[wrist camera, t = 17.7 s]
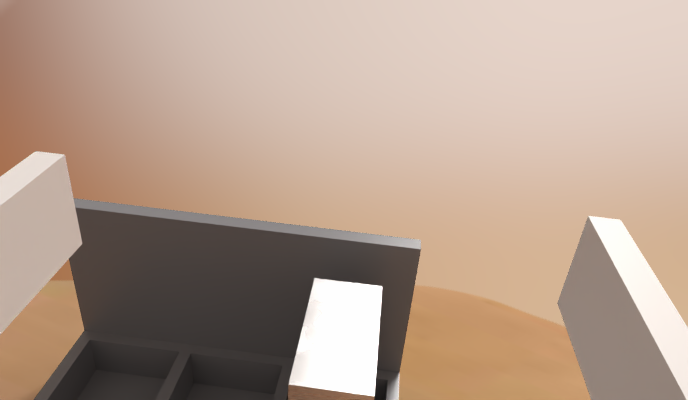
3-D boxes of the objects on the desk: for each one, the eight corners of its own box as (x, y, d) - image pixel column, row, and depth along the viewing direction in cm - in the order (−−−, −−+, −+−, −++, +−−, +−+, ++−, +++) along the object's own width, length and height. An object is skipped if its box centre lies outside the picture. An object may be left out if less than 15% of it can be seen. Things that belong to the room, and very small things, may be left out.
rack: (-23, 537, 31) (-109, 355, 23) (98, 355, 42) (65, 197, 35) (386, 601, 29) (425, 429, 22) (393, 395, 41) (420, 240, 34)
